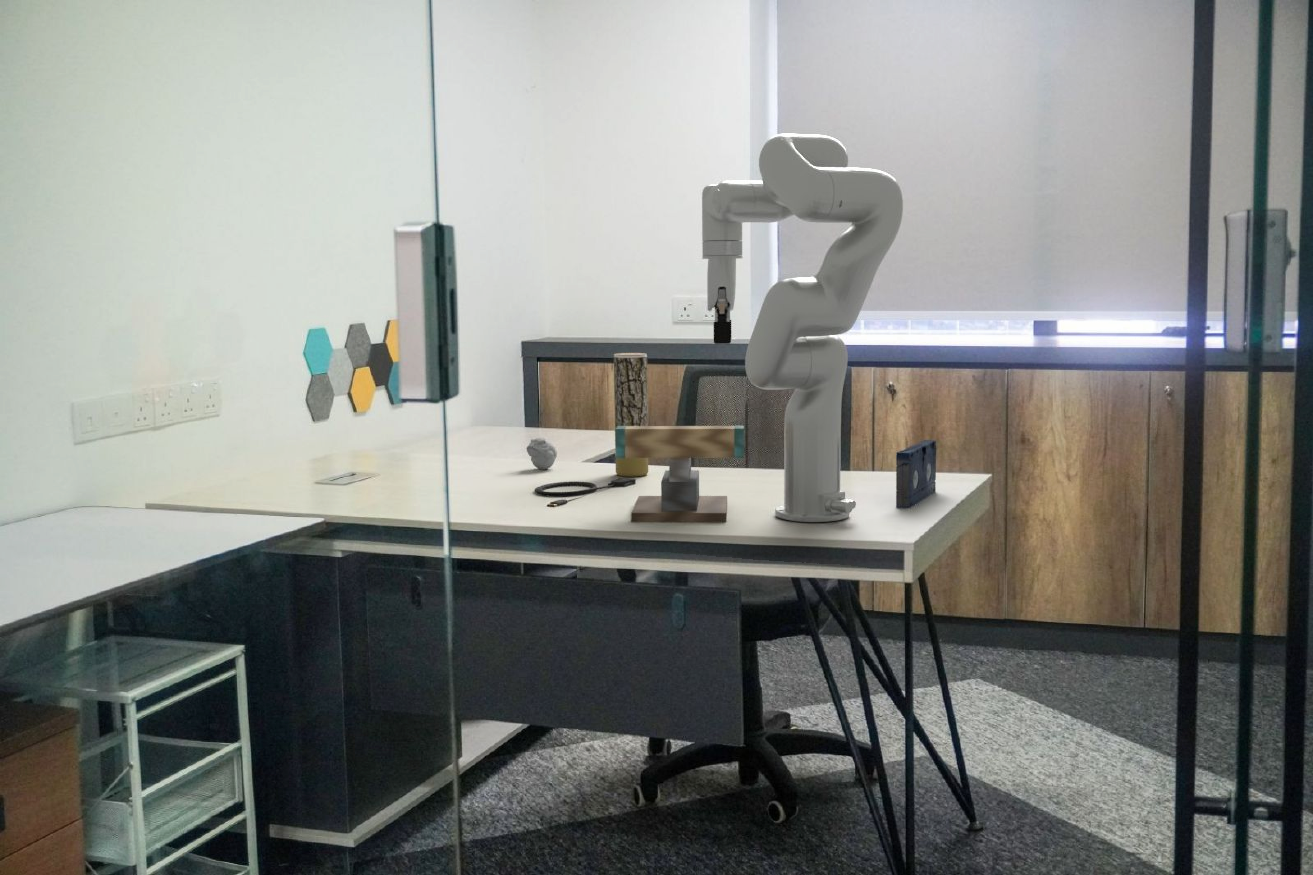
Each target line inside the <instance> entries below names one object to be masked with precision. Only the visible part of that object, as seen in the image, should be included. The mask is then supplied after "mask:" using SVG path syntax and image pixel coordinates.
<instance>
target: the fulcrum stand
mask: <svg viewBox="0 0 1313 875" xmlns="http://www.w3.org/2000/svg"><path fill="white" fill-rule="evenodd" d="M668 463H669V464H668V468H669V469H666V470H664V473H663V477H662V479H661V482H660V493H661V494H660V495H638V497H637V499H636V501H635V503H634V506H633V509H632V510H631V513H630V514H631V515H630V518H631V519H630V522H633V523H634V522H635V523H637V522H639V523H642V522H643V523H646V522H647V523H649V522H651V523H652V522H653V523H654V522H655V523H656V522H657V523H659V522H662V523H666V522H668V523H669V522H670V523H675V522H676V523H695V522H696V523H726V522H727V513H728V496H727V495H700V470H699V469H697V470H692V458H669V462H668Z"/></svg>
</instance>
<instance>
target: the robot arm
mask: <svg viewBox="0 0 1313 875" xmlns="http://www.w3.org/2000/svg"><path fill="white" fill-rule="evenodd" d="M848 165H849V155H848V152H847V150H846V148H845V146H844V145H843V144H842V143H841V142H840V141H839V140H838V139H836V138H834V137H831V136H828V135H822V134H806V133H805V134H804V133H802V134H801V133H779V134H776V135H774V136H771V137H770V138H769V139H768V140H767V141H766V142H765V144H764V145H763V147H762V148H761V150H760V154H759V157H758V167H759V173H760V176H761V180H736V179H735V180H724V181H721V182H720V183H717V184H715V183H714V184H707V185H706V186H704V187H703V189H702V192H701V211H702V212H701V213H702V214H701V218H702V219H701V220H702V221H701V223H702V225H701V229H702V230H701V231H702V232H701V233H702V234H701V237H702V239H701V241H702V242H701V243H702V244H701V245H702V247H701V248H702V250H701V251H702V258H701V259H703V260H704V259H705V260H707V271H706V272H707V274H706V275H707V276H706V278H707V280H706V281H707V282H706V283H707V284H706V286H707V290H706V291H707V292H706V295H707V311H708V312H712V309H714V321H713V343H714V344H715V345H717V344H718V345H721V344H722V345H724V344H725V345H729V344H731V343H732V342H731V341H732V319H731V312H732V311H734V307H735V306H734V305H735V299H736V285H737V284H736V283H737V282H736V281H737V276H736V275H737V260H738V259H743V223H768V224H769V223H776V222H780V221H784V220H786V219H788V218H790V217H792V216H795V217H797V219H800V220H802V221H804V222H807V223H834V224H837V223H841V224H842V223H843V224H844V223H846V224H847V223H851V226H850V227H849V228H847V229H846V230H845V231H844V232H843V233H842V234H841V235H839V236H838V238H836V239H835V241H833V243H832V244H831V246H830V247H829V248H828V250H827V251H826V252H825V255H824V258H823V261H822V264H821V266H820V268H819V271H818V272H817V273H816V274H815V275H813V276H810V277H809V276H808V277H790V278H784V279H781V280H779V281H778V282H776V283H774V285H772V286H771V287H770V289H769V290H768V292H767V293H766V295H765V296H764V299H763V302H762V305H761V306H760V307H761V308H760V310H759V314H758V316H757V319H756V322H755V325H754V328H753V331H752V334H751V336H750V339H749V342H748V344H747V348H746V353H745V359H744V364H745V365H744V367H745V368H744V369H745V374H746V377H747V379H748V381H750V382H749V383H751V384H752V385H753V386H755V387H756V388H758V389H761V390H766V391H767V390H768V391H769V390H770V391H774V390H775V391H776V390H779V391H780V390H792V389H794V391H793V393H792V394H791V396H790V398H789V401H788V403H787V405H786V408H785V411H784V441H783V442H784V445H783V446H784V452H783V453H784V454H783V455H784V456H783V457H784V458H783V459H784V460H783V461H784V463H783V464H784V466H783V467H784V468H783V469H784V470H783V471H784V472H783V478H784V479H783V480H784V481H783V482H784V483H783V484H784V488H783V489H784V491H783V494H784V496H783V500H784V501H783V504H781V505H778V506H776V508H775V510H774V516H776V517H777V518H779V519H782V520H785V521H791V522H800V523H803V522H804V523H825V522H826V523H827V522H838V521H842V520H845V519H847V518H849V516H850V514H851V513H852V511H853V510H854V509H855V508H856V507H857V506H856V505H857V504H856V503H857V502H856V501H855V500H852V499H846V491H845V490H841V452H842V451H841V448H842V447H841V444H842V443H841V442H842V441H841V436H842V431H841V430H842V403H843V402H842V400H843V390H844V383H845V380H846V374H847V369H848V362H849V361H848V358H849V356H848V355H849V354H848V349H847V346H846V344H845V342H844V341H843V339H842V338H840V337H839V336H838V335H843V334H845V333H848V332H849V331H850V330H852V328H853V327H854V325H855V324H856V322H857V320H858V318H859V315H860V313H861V310H862V308H863V305H864V303H865V300H866V298H867V296H868V293H869V291H870V289H871V286H872V284H873V282H874V279H875V275H876V273H877V271H878V269H879V267H880V265H881V263H882V262H883V260H884V258H885V256H886V255H887V253H888V252H889V250H890V248H891V246H892V245H893V244H894V241H895V239H896V237H897V235H898V233H899V231H900V227H901V224H902V219H903V212H904V200H903V194H902V189H901V187H900V186H899V183H898V181H897V180H896V179H895V178H894V177H893V176H892V175H890V174H888V173H887V172H884V171H882V170H879V169H873V168H866V167H862V168H861V167H848Z"/></svg>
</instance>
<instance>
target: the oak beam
mask: <svg viewBox="0 0 1313 875" xmlns="http://www.w3.org/2000/svg"><path fill="white" fill-rule="evenodd" d="M744 429H745V428H744V425H648V426H617V428H616V458H648V459H664V458H665V459H668V458H669V459H670V458H691V459H694V458H695V459H696V458H697V459H699V458H700V459H701V458H703V459H711V458H712V459H714V458H715V459H716V458H717V459H719V458H720V459H723V458H724V459H725V458H726V459H731V458H732V459H733V458H734V459H744V457H745V455H744V454H745V446H744V445H745V444H744V443H745V439H744V437H745V436H744V434H745V430H744ZM616 458H615V459H616Z"/></svg>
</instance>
